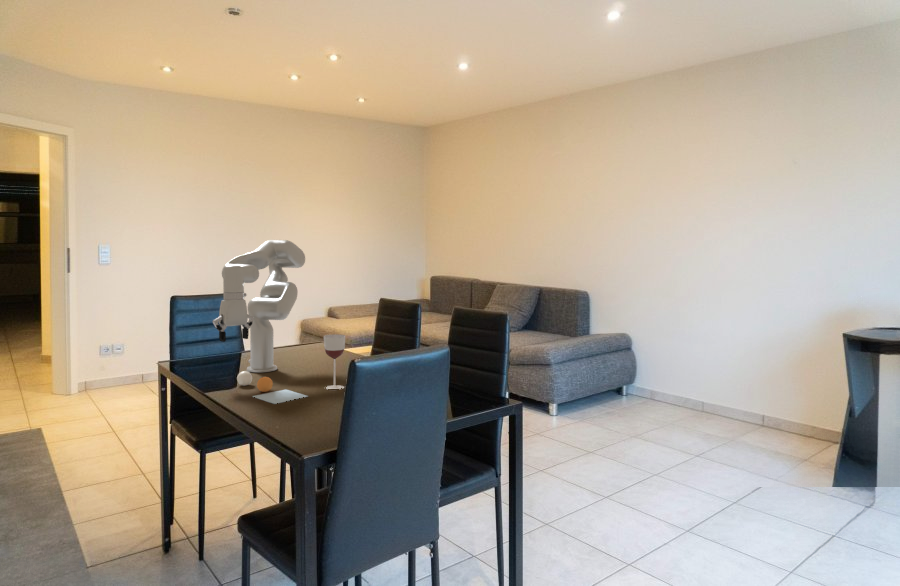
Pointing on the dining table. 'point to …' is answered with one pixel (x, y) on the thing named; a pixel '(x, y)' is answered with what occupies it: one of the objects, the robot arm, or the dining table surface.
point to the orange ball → (264, 384)
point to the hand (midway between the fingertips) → (234, 339)
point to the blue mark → (280, 396)
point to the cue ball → (244, 378)
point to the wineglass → (334, 352)
